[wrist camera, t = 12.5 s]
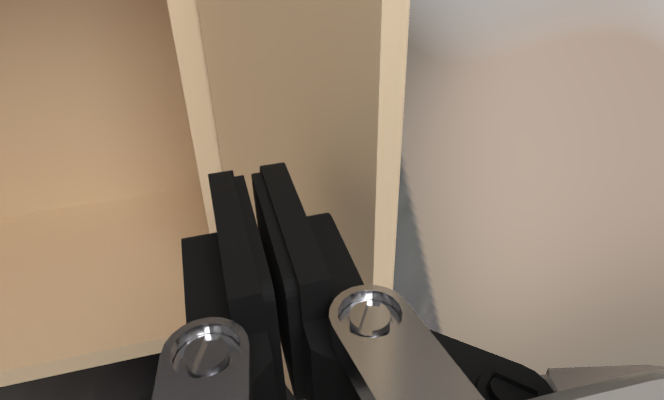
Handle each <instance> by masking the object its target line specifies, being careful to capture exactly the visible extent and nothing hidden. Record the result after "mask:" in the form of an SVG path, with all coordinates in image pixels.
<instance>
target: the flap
mask: <svg viewBox="0 0 664 400" xmlns="http://www.w3.org/2000/svg"><path fill="white" fill-rule="evenodd" d="M197 5H198V11H199V18H200V24H201V31H202V38H203V44H204V51H205V57H206V64H207V70H208V77H209V83H210V90H211V96H212V103H213V109H214V116H215V123H216V129H217V136H218V142H219V149H220V155H221V162H222V168H223V172H224V171H230V170H233V173H234V176H241V175H244V178H245V182H246V185H247V189H248V193H249V197H250V200H251V204H252V208H253V212H254V215H255V219H256V223H257V218H256V210H255V202H254V194H253V186H252V178H251V174H253V173H260V166H262V165H269V164H275V163H282V162H284V163H285V164H286V167H287V169H288V172H289V174H290V177H291V179H292V182H293V184H294V186H295V189H296V191H297V194H298V196H299V199H300V201H301V204H302V206H303V209H304V211H305V213H306V216H311V215H317V214H322V213H330V214H331V216H332V218H333V220H334V222H335V224H336V226H337V228H338V230H339V232H340V235H341V237H342V239H343V241H344V243H345V245H346V247H347V249H348V251H349V253H350V256H351V258H352V260H353V262H354V264H355V266H356V268H357V270H358V272H359V274H360V276H361V279H362V281H363V283H364V285H378V286H383V287H387V288H389V289H391V290H393V279H394V262H395V245H396V228H397V212H398V195H399V178H400V161H401V145H402V128H403V111H404V93H405V77H406V60H407V44H408V28H409V27H408V26H409V11H410V0H197ZM257 227H258V226H257ZM281 351H282V360H283V369H284V377H285V384H286V386H287V387H288V388H289V390H290V391H291V393H292V394H293V390H292V386H291V382H290V378H289V374H288V370H287V366H286V362H285V358H284V354H283V350H282V346H281ZM293 395H294V394H293Z"/></svg>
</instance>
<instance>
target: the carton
mask: <svg viewBox="0 0 664 400" xmlns="http://www.w3.org/2000/svg"><path fill="white" fill-rule="evenodd" d="M217 172H223V169H222V163H221V156H220V150H219V143H218V137H217V130H216V124H215V117H214V110H213V104H212V97H211V91H210V84H209V78H208V71H207V65H206V58H205V52H204V45H203V39H202V32H201V26H200V19H199V13H198V6H197V0H0V387H3V386H8V385H13V384H17V383H22V382H27V381H31V380H36V379H41V378H45V377H50V376H55V375H59V374H64V373H69V372H73V371H78V370H82V369H87V368H92V367H96V366H101V365H106V364H110V363H115V362H120V361H124V360H129V359H134V358H138V357H143V356H148V355H152V354H157V353H161V351H162V348H163V346H164V343H165V342H166V341H167V339H168V338H169V337H170V336H171V334H172V333H174V332H175V331H176V330H178V329H179V328H180V327H182V326H183V325H185V324H186V313H185V296H184V280H183V264H182V248H181V239H182V238H187V237H193V236H198V235H204V234H210V233H215V232H217V230H216V223H215V217H214V211H213V204H212V198H211V191H210V185H209V179H208V174H211V173H217Z"/></svg>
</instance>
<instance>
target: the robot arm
mask: <svg viewBox="0 0 664 400" xmlns="http://www.w3.org/2000/svg"><path fill="white" fill-rule="evenodd" d="M251 178H252V186H253V194H254V202H255V210H256V218H257V223H256V219H255V215H254V212H253V208H252V204H251V200H250V197H249V193H248V189H247V185H246V182H245V178H244V175H241V176H234V173H233V170H230V171H224V172H217V173H211V174H208V179H209V185H210V191H211V198H212V204H213V211H214V217H215V223H216V230H217V232H215V233H210V234H204V235H198V236H193V237H187V238H182V239H181V248H182V264H183V280H184V296H185V313H186V324H185V325H183V326H182V327H180V328H179V329H178V330H176V331H175V332H174V333H172V334H171V336H170V337H169V338H168V339H167V341H166V342H165V343H164V346H163V348H162V351H161V353H160V358H159V363H158V369H157V374H156V379H155V385H154V386H153V387H152V388H151V389H150V390H149V391H148V392H147V393H146V394H145V395H144V396H143V397H142V398H141V399H140V400H287V395H286V386H285V377H284V369H283V360H282V351H281V346H282V350H283V354H284V358H285V362H286V366H287V370H288V374H289V378H290V382H291V386H292V390H293V394H294V398H295V400H664V367H661V366H651V365H632V366H631V365H630V366H603V367H575V368H548V370H547V373H546V375H539V374H537V373H536V372H535V371H533V370H531V369H529V368H527V367H525V366H523V365H521V364H519V363H516V362H513V361H511V360H508V359H505V358H503V357H500V356H497V355H495V354H492V353H489V352H487V351H484V350H482V349H479V348H476V347H474V346H471V345H469V344H466V343H463V342H460V341H458V340H455V339H453V338H450V337H448V336H445V335H442V334H440V333H437V332H434V331H432V330H429V329H428V327H427V326H426V325H425V324H424V322H423V321H422V320H421V319H420V317H419V316H418V315H417V314H416V312H415V311H414V310H413V309H412V307H411V306H410V305H409V304H408V302H407V301H406V300H405V299H404V298H403V297H402V296H401V295H400V294H399V293H397V292H395V291H393V290H391V289H389V288H387V287H383V286H378V285H364V283H363V281H362V279H361V276H360V274H359V272H358V270H357V268H356V266H355V264H354V262H353V260H352V258H351V256H350V253H349V251H348V249H347V247H346V245H345V243H344V241H343V239H342V237H341V235H340V232H339V230H338V228H337V226H336V224H335V222H334V220H333V218H332V216H331V214H330V213H322V214H317V215H311V216H306V213H305V211H304V209H303V206H302V204H301V201H300V199H299V196H298V194H297V191H296V189H295V186H294V184H293V182H292V179H291V177H290V174H289V172H288V169H287V167H286V164H285V163H284V162H282V163H275V164H269V165H262V166H260V173H253V174H251ZM257 226H258V227H257Z"/></svg>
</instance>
